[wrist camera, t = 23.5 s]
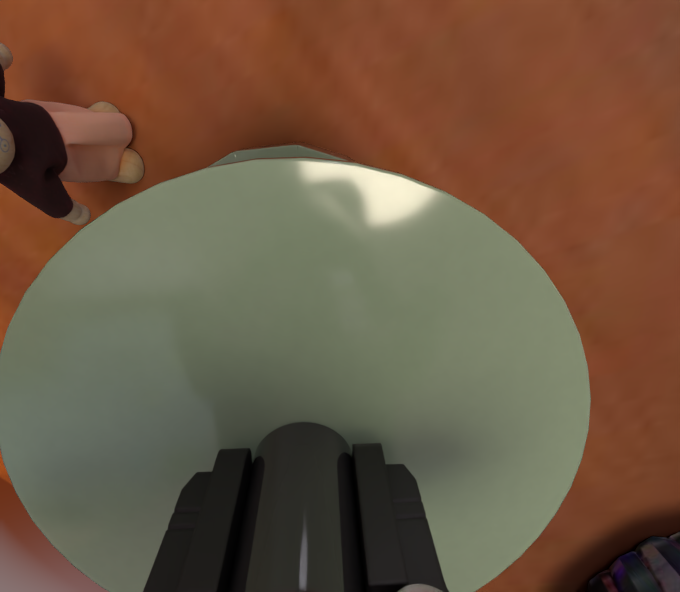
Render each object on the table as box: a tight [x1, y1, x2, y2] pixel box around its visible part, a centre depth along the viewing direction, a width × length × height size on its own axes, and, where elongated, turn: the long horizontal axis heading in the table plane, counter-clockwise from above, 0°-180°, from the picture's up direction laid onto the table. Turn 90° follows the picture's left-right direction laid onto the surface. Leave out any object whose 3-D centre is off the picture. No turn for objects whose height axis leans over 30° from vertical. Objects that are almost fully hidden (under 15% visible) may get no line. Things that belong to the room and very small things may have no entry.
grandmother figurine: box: [0, 43, 144, 225], centre depth 18 cm, size 8×4×13 cm, turn 26°
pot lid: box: [0, 157, 591, 592], centre depth 9 cm, size 15×15×6 cm
